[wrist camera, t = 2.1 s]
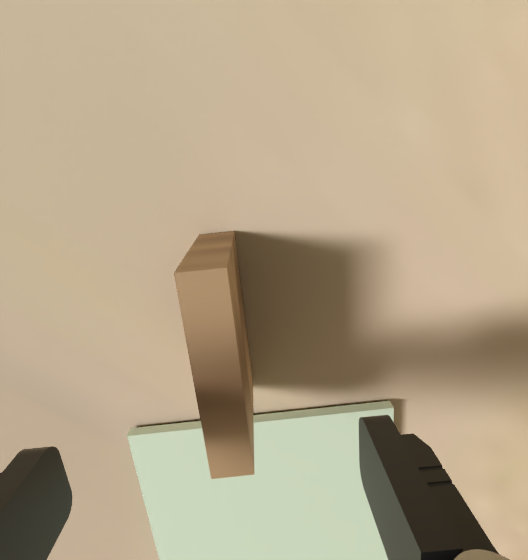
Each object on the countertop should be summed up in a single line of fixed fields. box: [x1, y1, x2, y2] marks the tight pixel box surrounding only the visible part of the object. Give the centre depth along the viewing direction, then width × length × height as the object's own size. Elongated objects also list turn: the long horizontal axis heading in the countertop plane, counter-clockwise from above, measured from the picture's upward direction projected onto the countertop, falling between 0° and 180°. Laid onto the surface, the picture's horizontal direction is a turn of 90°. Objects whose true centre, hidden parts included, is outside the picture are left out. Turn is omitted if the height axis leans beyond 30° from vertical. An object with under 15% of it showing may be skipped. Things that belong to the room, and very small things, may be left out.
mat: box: [127, 401, 394, 560], centre depth 22 cm, size 16×14×1 cm
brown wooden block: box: [174, 231, 254, 479], centre depth 15 cm, size 8×2×6 cm, turn 5°
